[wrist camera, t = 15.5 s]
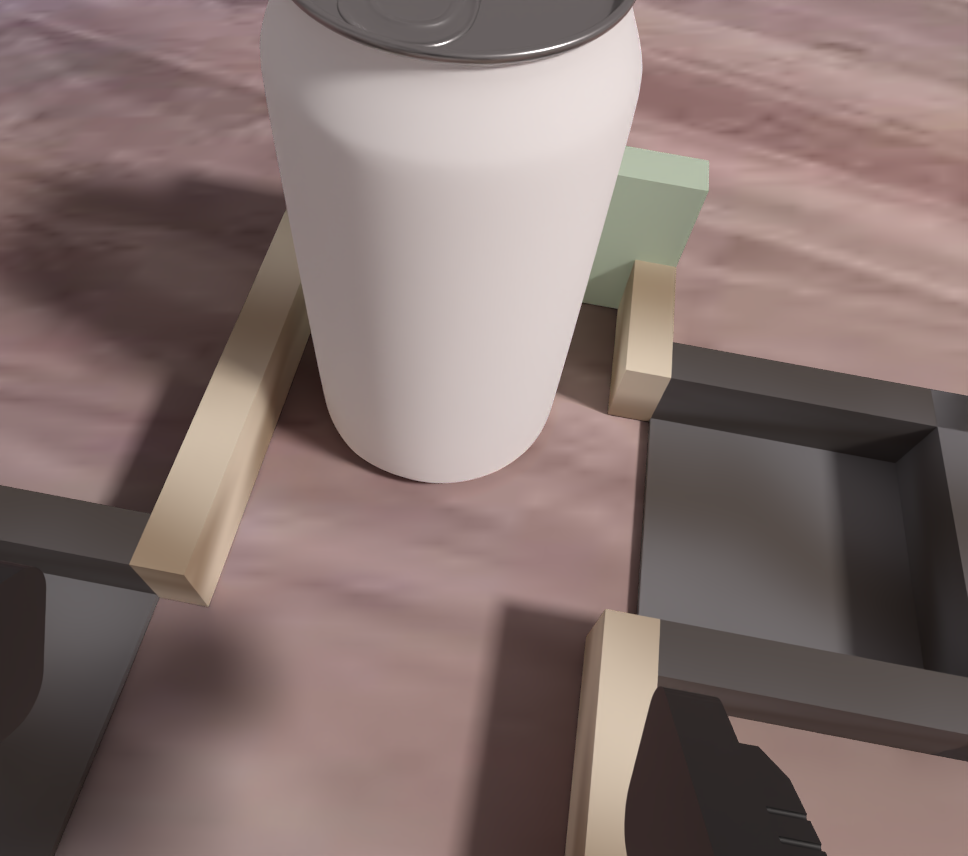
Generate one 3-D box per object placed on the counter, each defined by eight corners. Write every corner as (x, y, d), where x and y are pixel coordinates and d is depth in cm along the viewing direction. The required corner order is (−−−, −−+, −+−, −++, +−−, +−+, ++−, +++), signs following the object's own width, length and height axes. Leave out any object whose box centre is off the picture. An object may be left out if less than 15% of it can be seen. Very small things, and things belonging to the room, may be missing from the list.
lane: (1106, 1505, 12) (1238, 1626, 10) (-591, 1145, 12) (-775, 1194, 10) (909, 333, 24) (951, 286, 22) (67, 181, 25) (38, 123, 23)
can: (277, 422, 20) (137, -35, 10) (403, 273, 24) (391, -191, 13) (484, 533, 19) (558, 141, 9) (587, 360, 22) (730, -77, 12)
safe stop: (655, 315, 23) (708, 191, 19) (301, 251, 24) (275, 114, 19) (657, 287, 24) (709, 160, 20) (311, 225, 24) (289, 86, 20)
